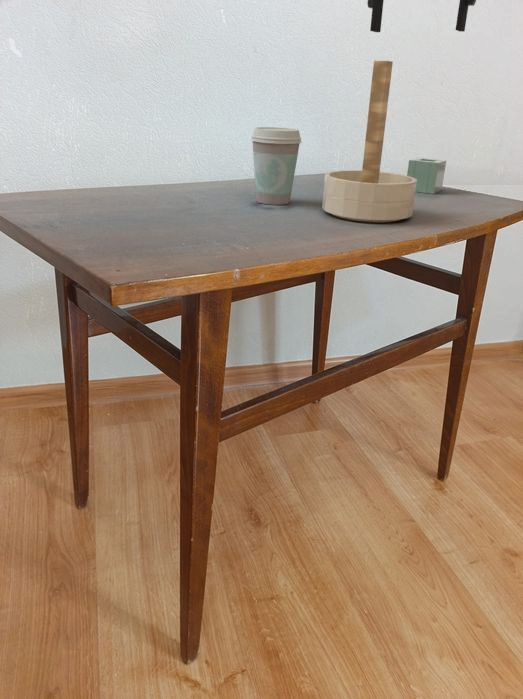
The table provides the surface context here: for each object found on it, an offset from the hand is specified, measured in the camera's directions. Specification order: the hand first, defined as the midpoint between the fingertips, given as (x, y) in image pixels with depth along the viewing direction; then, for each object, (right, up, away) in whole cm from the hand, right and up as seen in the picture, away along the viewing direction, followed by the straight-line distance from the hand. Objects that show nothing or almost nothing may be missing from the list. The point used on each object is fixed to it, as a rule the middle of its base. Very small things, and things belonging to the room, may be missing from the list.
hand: (416, 31), depth 93 cm
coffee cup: (-22, -25, +10) cm, 35 cm away
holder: (+9, -17, +29) cm, 35 cm away
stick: (-7, -28, +3) cm, 29 cm away
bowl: (-7, -28, +3) cm, 29 cm away
